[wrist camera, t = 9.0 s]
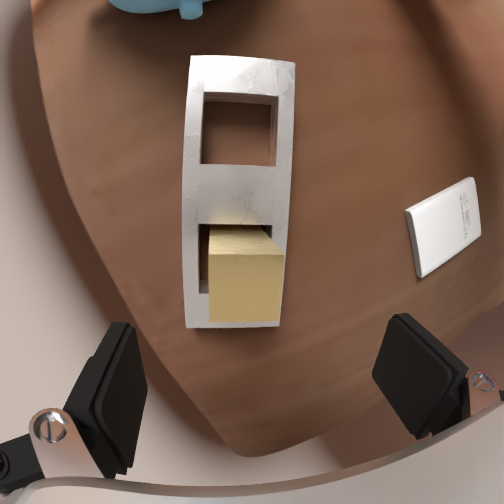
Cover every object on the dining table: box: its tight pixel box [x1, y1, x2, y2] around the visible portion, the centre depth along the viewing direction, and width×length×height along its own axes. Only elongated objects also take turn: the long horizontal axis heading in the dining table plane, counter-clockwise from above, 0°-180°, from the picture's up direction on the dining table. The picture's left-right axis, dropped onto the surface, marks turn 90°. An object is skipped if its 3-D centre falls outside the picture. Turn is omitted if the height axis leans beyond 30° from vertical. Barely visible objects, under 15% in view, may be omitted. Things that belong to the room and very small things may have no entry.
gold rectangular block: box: [209, 225, 285, 322], centre depth 20 cm, size 4×4×9 cm
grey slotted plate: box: [182, 55, 295, 328], centre depth 22 cm, size 22×8×3 cm, turn 178°
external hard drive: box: [405, 177, 481, 278], centre depth 27 cm, size 2×8×12 cm
